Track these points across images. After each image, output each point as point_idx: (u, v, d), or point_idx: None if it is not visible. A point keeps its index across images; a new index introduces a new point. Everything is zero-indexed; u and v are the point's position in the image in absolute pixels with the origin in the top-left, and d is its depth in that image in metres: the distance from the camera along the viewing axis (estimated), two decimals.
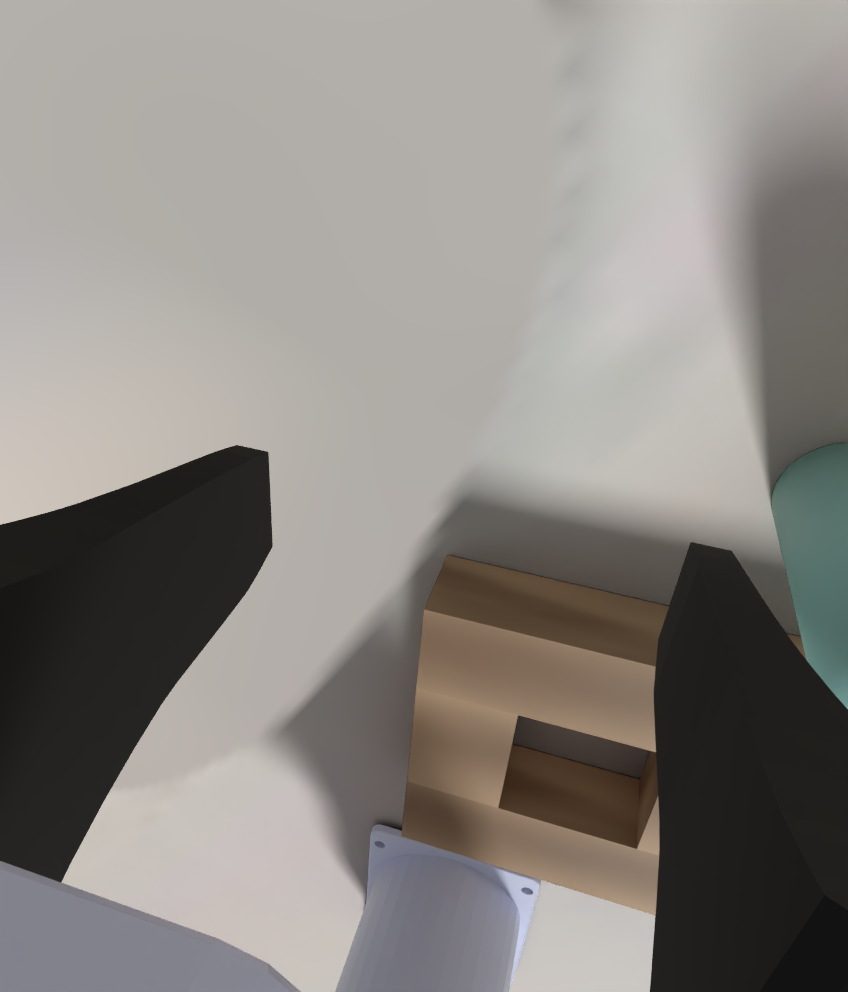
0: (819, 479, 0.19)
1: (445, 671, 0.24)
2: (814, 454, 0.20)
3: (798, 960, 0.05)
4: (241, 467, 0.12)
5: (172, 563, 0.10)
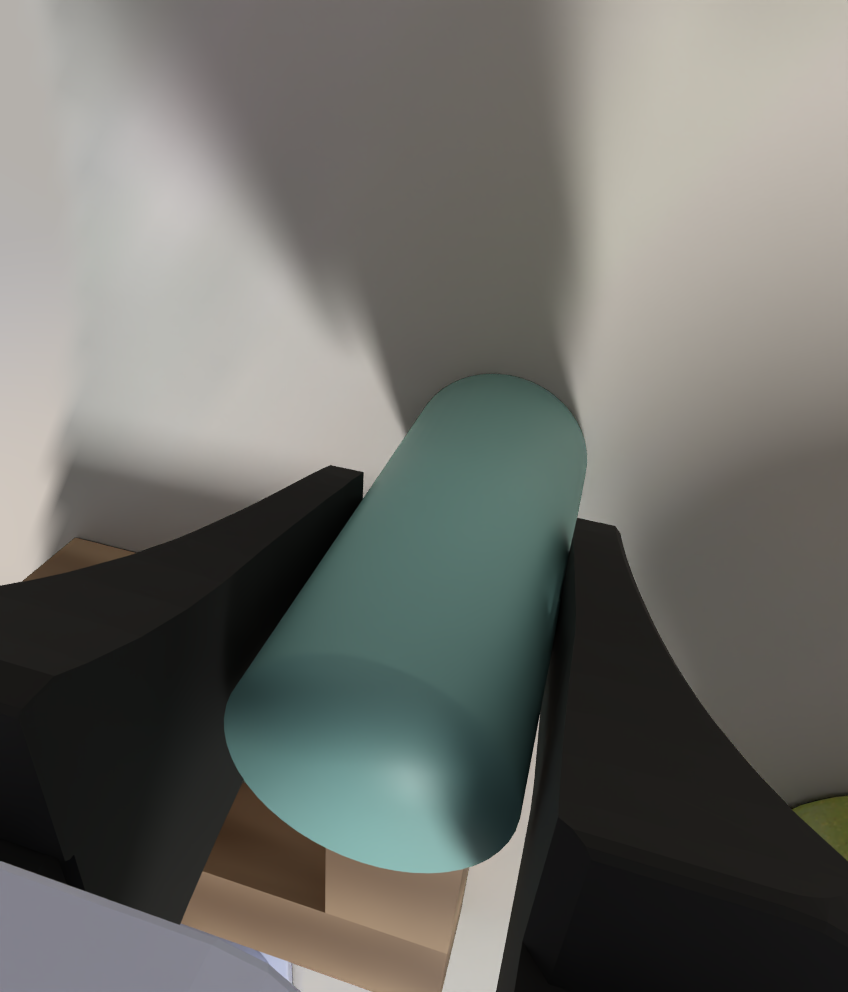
0: (421, 421, 0.13)
1: None
2: (443, 391, 0.14)
3: (547, 881, 0.05)
4: (343, 489, 0.11)
5: (283, 591, 0.10)
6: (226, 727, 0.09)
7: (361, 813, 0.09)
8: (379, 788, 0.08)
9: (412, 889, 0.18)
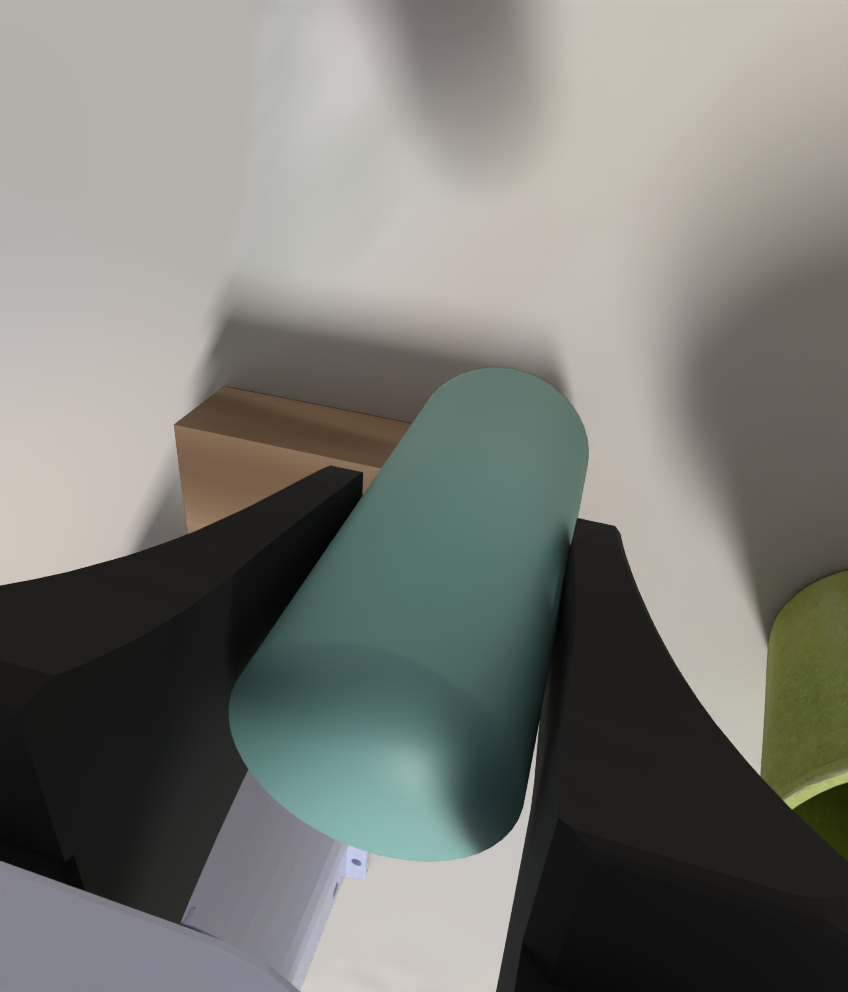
0: (424, 414, 0.13)
1: (208, 497, 0.23)
2: (446, 384, 0.14)
3: (547, 882, 0.05)
4: (343, 489, 0.11)
5: (283, 591, 0.10)
6: (230, 715, 0.09)
7: (364, 802, 0.09)
8: (383, 775, 0.09)
9: None
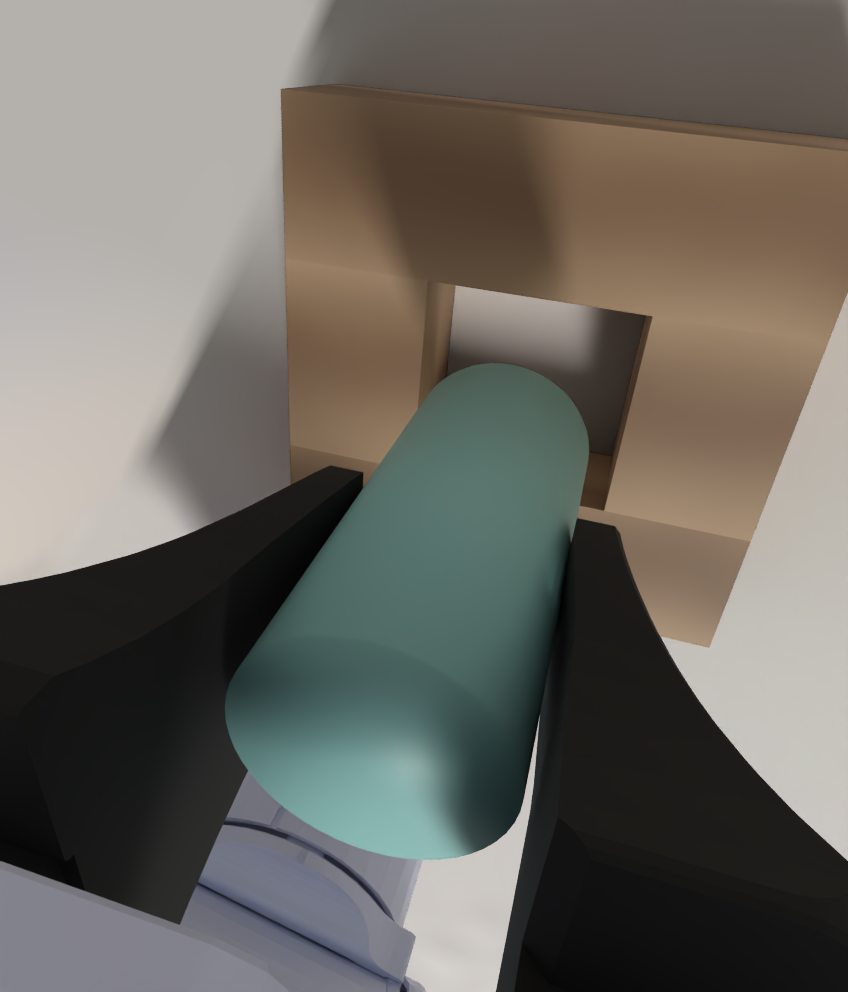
0: (428, 406, 0.13)
1: (322, 213, 0.16)
2: (450, 377, 0.14)
3: (547, 881, 0.05)
4: (343, 489, 0.11)
5: (283, 591, 0.10)
6: (226, 704, 0.09)
7: (358, 798, 0.09)
8: (379, 772, 0.08)
9: (731, 441, 0.16)
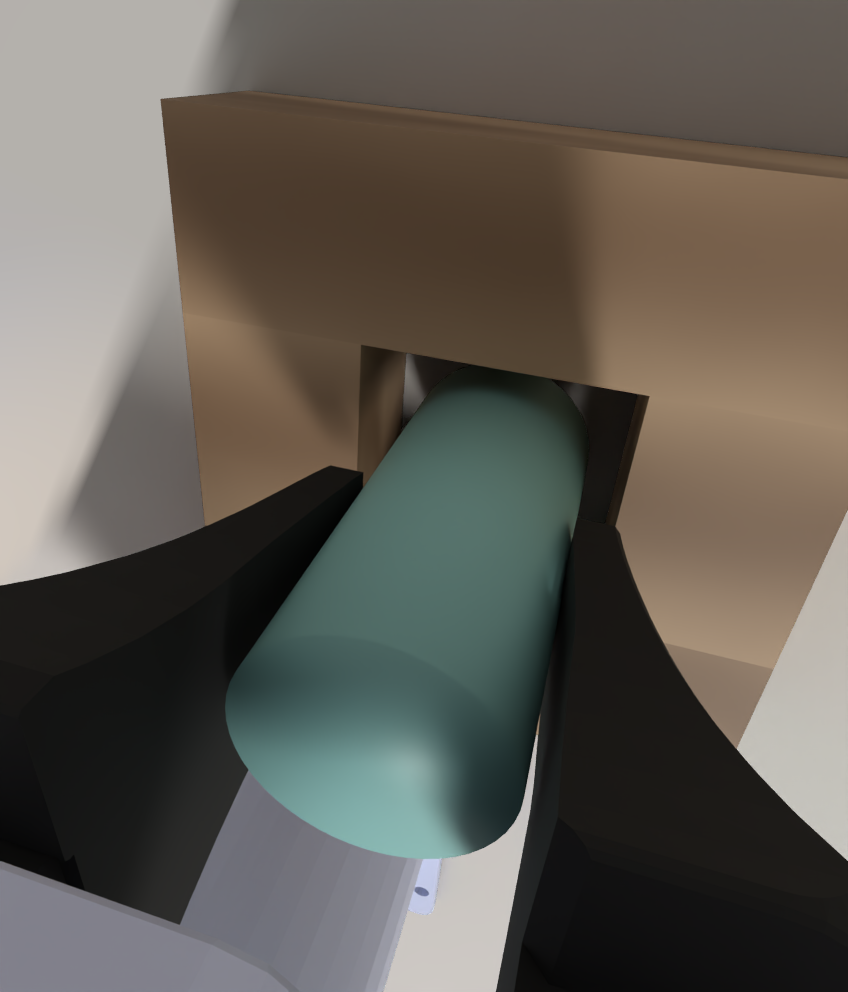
0: (428, 406, 0.13)
1: (224, 258, 0.13)
2: (450, 377, 0.14)
3: (547, 882, 0.05)
4: (343, 489, 0.11)
5: (283, 591, 0.10)
6: (226, 703, 0.09)
7: (358, 797, 0.09)
8: (379, 771, 0.08)
9: (751, 550, 0.13)
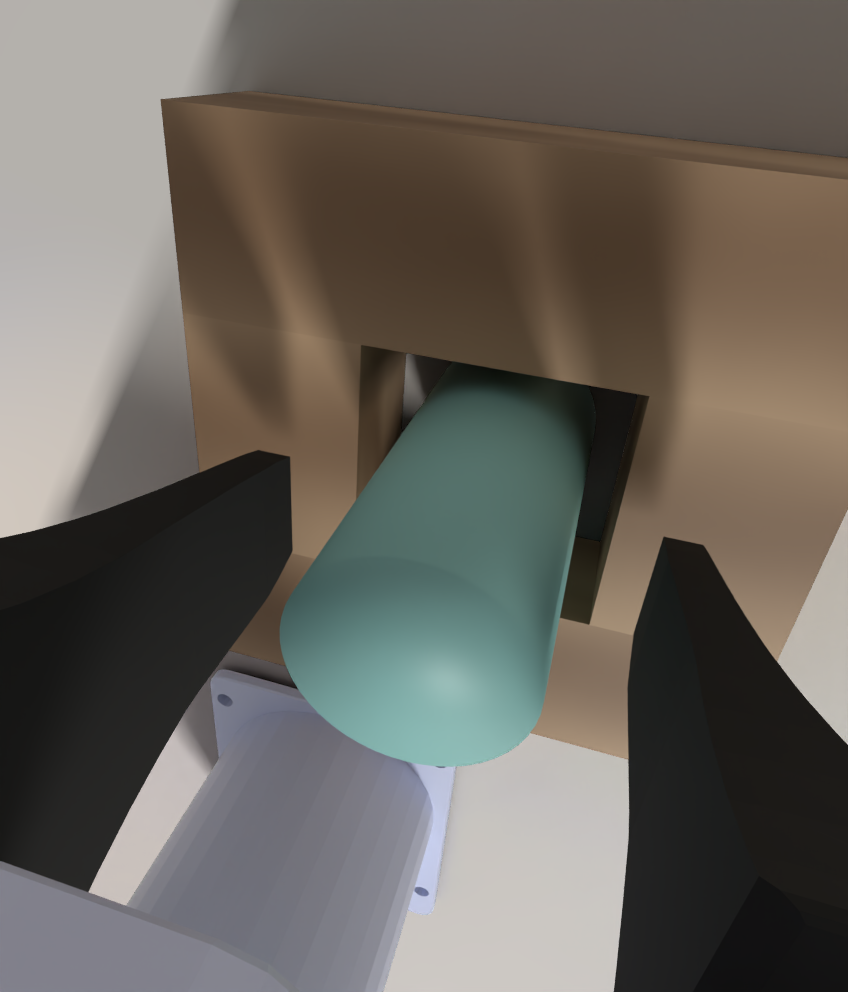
0: (449, 377, 0.14)
1: (224, 258, 0.13)
2: None
3: (735, 939, 0.05)
4: (264, 472, 0.12)
5: (197, 569, 0.10)
6: (280, 625, 0.10)
7: (395, 709, 0.10)
8: (417, 684, 0.10)
9: (751, 550, 0.13)
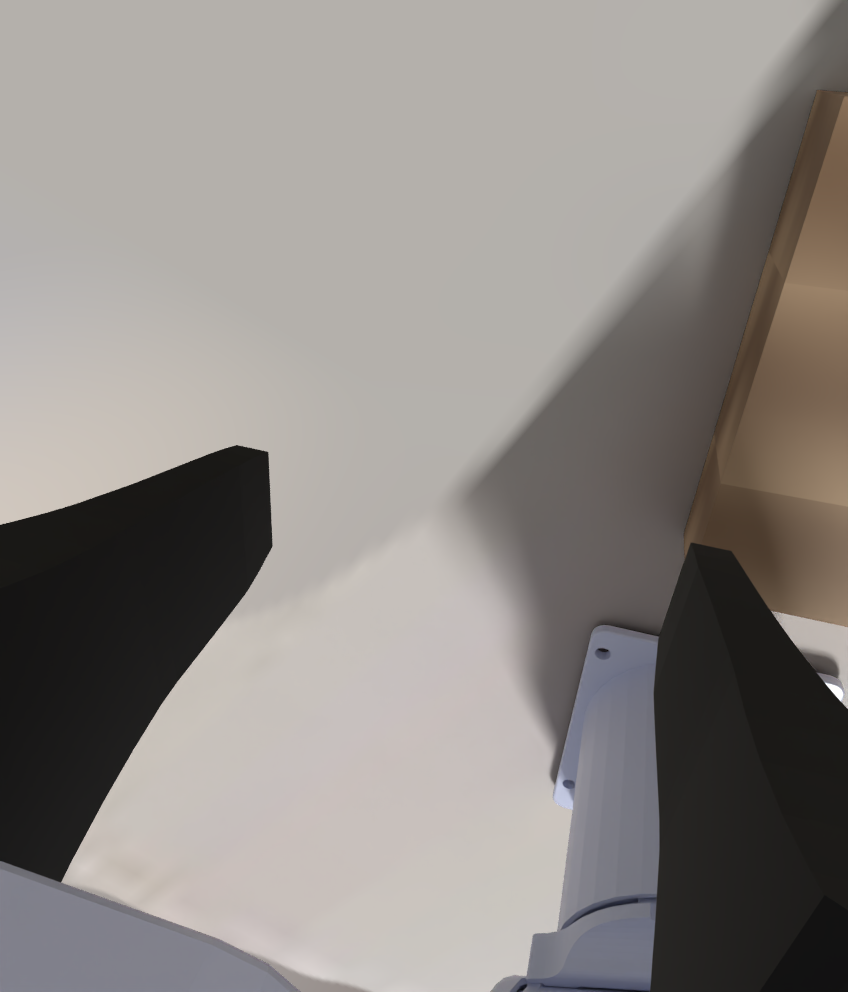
0: None
1: None
2: None
3: (798, 958, 0.05)
4: (241, 467, 0.12)
5: (172, 563, 0.10)
6: None
7: None
8: None
9: None
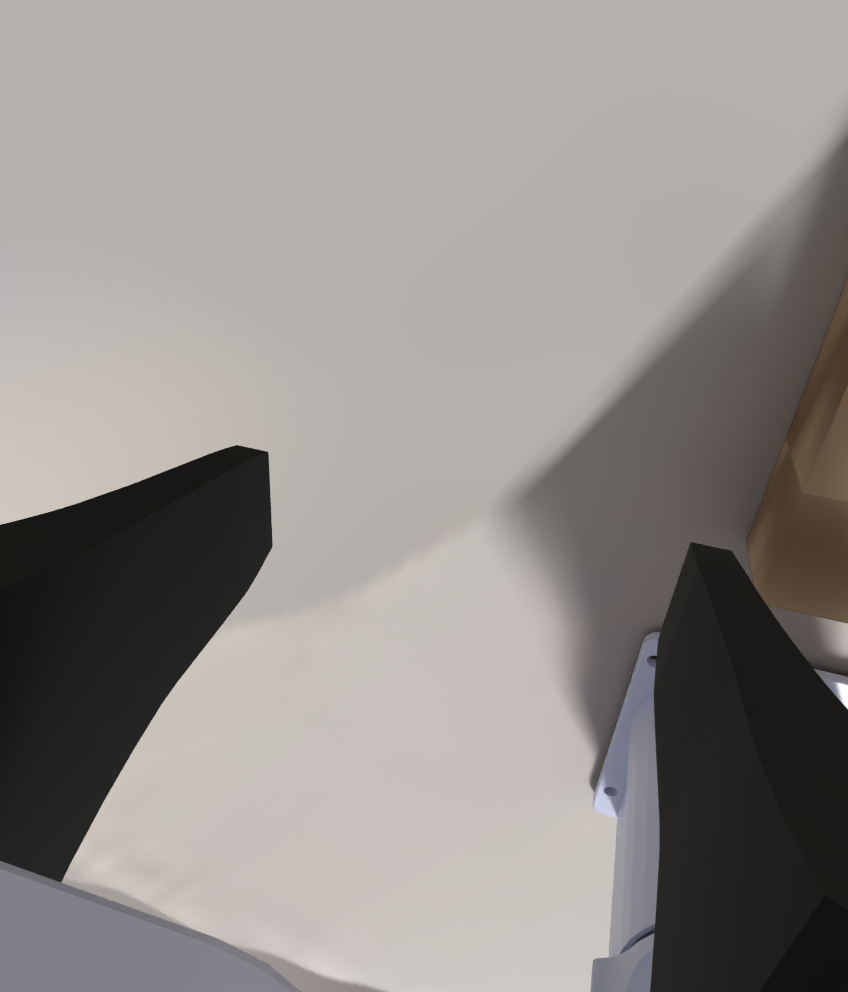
0: None
1: None
2: None
3: (798, 958, 0.05)
4: (241, 467, 0.12)
5: (172, 563, 0.10)
6: None
7: None
8: None
9: None
